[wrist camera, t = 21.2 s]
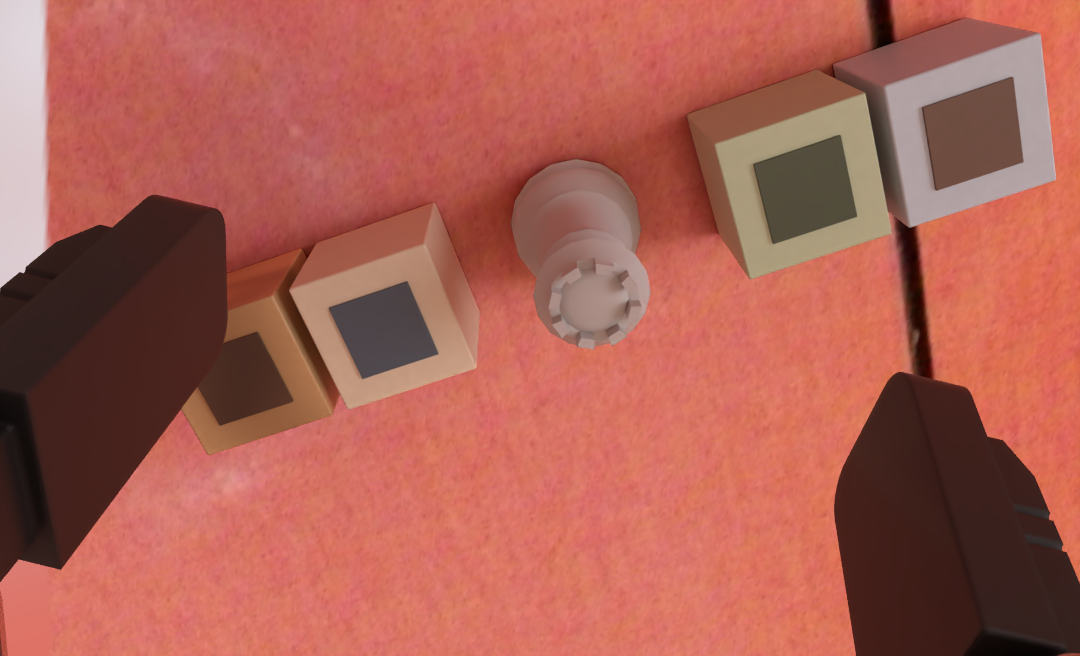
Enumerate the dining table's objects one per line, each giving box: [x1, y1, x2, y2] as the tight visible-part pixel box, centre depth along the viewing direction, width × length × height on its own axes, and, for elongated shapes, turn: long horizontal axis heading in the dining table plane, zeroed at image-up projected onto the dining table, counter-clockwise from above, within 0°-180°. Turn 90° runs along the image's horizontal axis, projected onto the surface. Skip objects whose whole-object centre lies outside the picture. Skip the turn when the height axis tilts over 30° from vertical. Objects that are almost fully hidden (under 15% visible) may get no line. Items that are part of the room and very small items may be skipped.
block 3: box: [687, 70, 892, 279], centre depth 29 cm, size 4×4×5 cm
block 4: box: [833, 18, 1056, 227], centre depth 29 cm, size 4×4×5 cm
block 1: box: [181, 248, 340, 455], centre depth 31 cm, size 4×4×5 cm
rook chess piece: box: [511, 159, 650, 349], centre depth 28 cm, size 4×4×8 cm
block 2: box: [289, 203, 480, 409], centre depth 30 cm, size 4×4×5 cm
